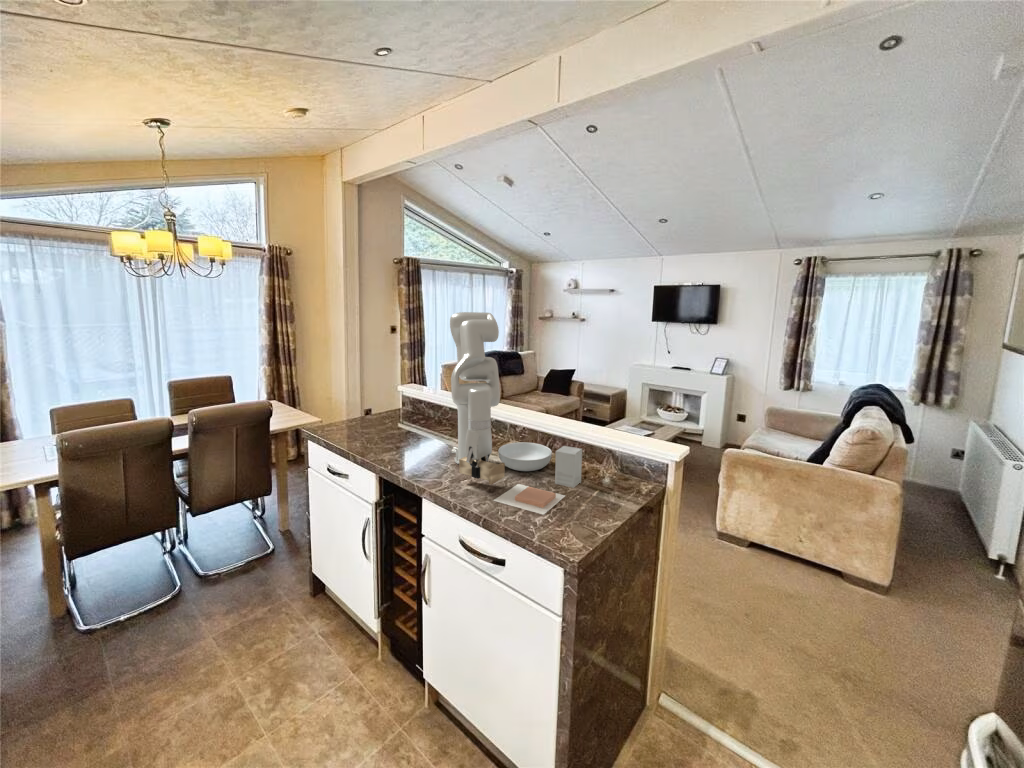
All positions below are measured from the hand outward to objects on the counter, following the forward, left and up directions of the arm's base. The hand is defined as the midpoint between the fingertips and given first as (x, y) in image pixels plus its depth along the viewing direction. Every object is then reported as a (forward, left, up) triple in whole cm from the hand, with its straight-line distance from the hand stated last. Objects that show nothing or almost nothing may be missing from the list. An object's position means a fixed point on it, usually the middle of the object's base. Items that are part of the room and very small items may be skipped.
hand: (479, 475), depth 151 cm
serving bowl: (+4, +25, -4) cm, 26 cm away
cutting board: (+20, 0, -4) cm, 20 cm away
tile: (+17, 0, -3) cm, 17 cm away
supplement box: (+25, +19, -4) cm, 32 cm away
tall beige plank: (0, 0, 0) cm, 0 cm away
